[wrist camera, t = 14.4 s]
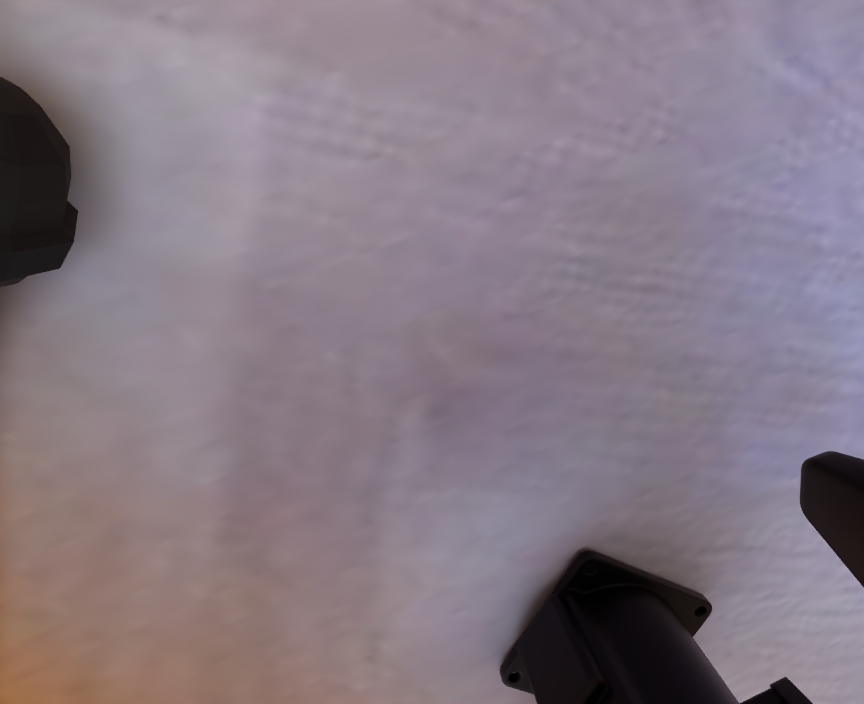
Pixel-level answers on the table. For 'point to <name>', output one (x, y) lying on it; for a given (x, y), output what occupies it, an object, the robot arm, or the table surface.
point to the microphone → (32, 189)
